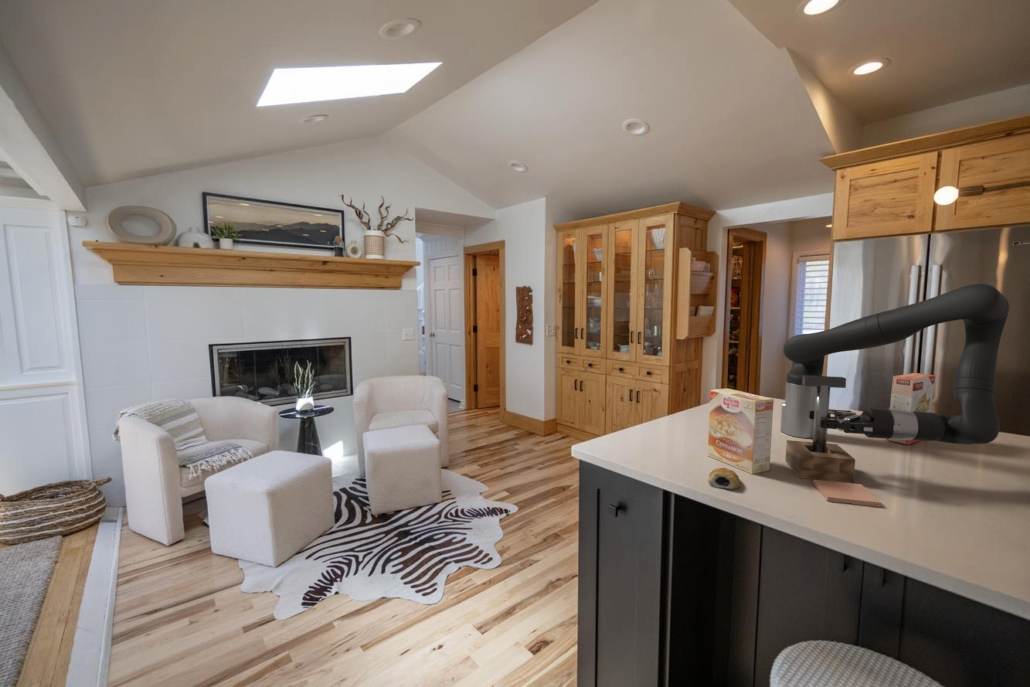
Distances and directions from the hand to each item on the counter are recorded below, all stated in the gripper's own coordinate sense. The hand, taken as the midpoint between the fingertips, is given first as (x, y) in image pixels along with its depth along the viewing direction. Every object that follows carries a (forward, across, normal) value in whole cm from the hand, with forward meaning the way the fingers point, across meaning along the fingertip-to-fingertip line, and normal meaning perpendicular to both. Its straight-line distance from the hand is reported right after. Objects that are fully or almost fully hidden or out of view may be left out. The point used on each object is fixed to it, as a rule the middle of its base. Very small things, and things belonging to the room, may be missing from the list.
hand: (814, 418), depth 119 cm
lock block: (-2, 0, +14) cm, 14 cm away
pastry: (+23, +15, +14) cm, 31 cm away
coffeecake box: (+18, -1, +14) cm, 23 cm away
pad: (-3, +14, +14) cm, 20 cm away
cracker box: (-38, -37, +14) cm, 55 cm away
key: (-2, 0, +12) cm, 12 cm away
